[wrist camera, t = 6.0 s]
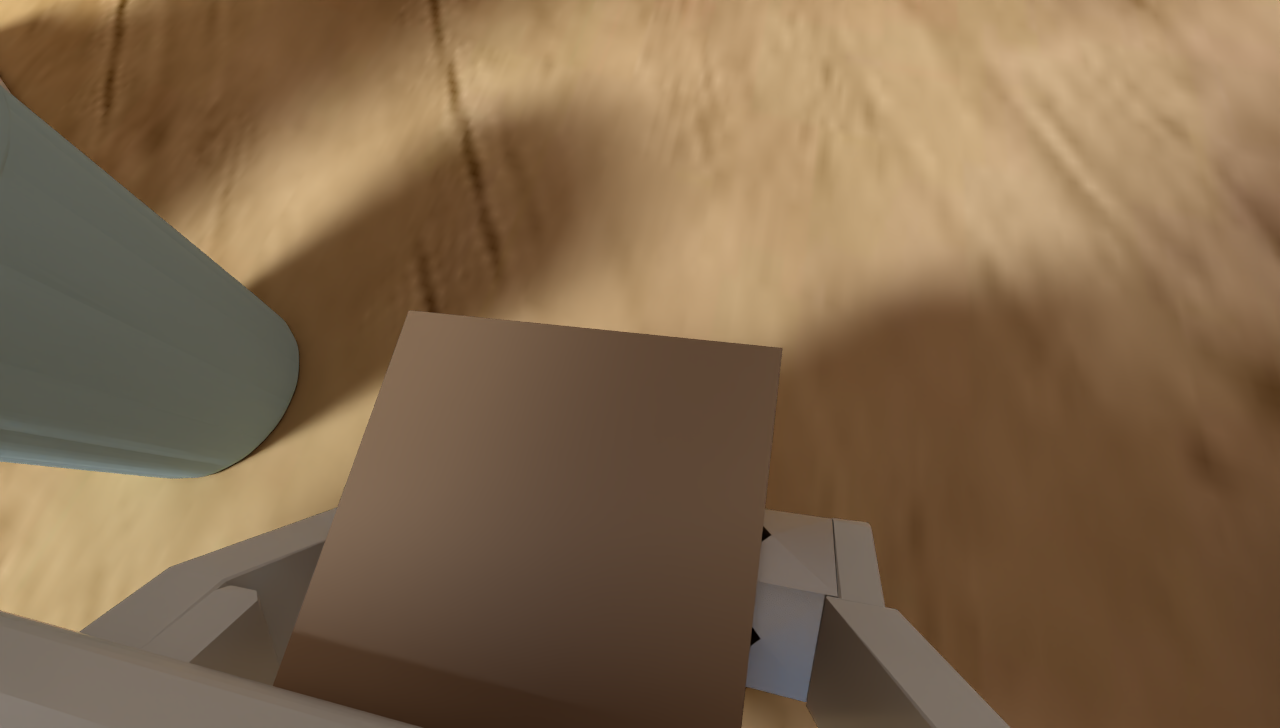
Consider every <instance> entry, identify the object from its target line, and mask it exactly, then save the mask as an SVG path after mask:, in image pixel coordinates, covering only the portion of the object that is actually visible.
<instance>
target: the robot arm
mask: <svg viewBox="0 0 1280 728" xmlns="http://www.w3.org/2000/svg"><path fill="white" fill-rule="evenodd" d="M0 85H1V86H2V87H3V88H4V89H6V90H7V91H8V92H9V93H10V91H9V90H8V88H7V87H6V85H5V84H4V82H3V81H2V80H1V78H0ZM336 510H337V508H334V509H331V510H329V511H326V512H323V513H320V514H317V515H315V516H312V517H309V518H306V519H303V520H301V521H298V522H295V523H292V524H289V525H287V526H284V527H281V528H278V529H275V530H273V531H270V532H267V533H264V534H261V535H259V536H256V537H253V538H250V539H247V540H245V541H242V542H239V543H236V544H233V545H231V546H228V547H225V548H222V549H219V550H217V551H214V552H211V553H208V554H205V555H203V556H200V557H197V558H194V559H191V560H188V561H186V562H183V563H180V564H177V565H174V566H172V567H169V568H168V569H166V570H165V571H163V572H162V573H161V574H159V575H158V576H157V577H155V578H154V579H152V580H151V581H150V582H148V583H147V584H145V585H144V586H143V587H141V588H140V589H138V590H137V591H136V592H134V593H133V594H131V595H130V596H129V597H127V598H126V599H124V600H123V601H122V602H120V603H119V604H117V605H116V606H115V607H113V608H112V609H110V610H109V611H108V612H106V613H105V614H104V615H102V616H101V617H99V618H98V619H97V620H95V621H94V622H92V623H91V624H90V625H88V626H87V627H85V628H84V629H83V630H81V631H80V632H76V631H73V630H69V629H66V628H62V627H58V626H55V625H51V624H48V623H44V622H40V621H37V620H33V619H30V618H26V617H22V616H19V615H15V614H12V613H8V612H4V611H1V610H0V728H422V727H418V726H415V725H411V724H408V723H404V722H401V721H397V720H393V719H390V718H386V717H383V716H379V715H375V714H372V713H368V712H365V711H361V710H357V709H354V708H350V707H347V706H343V705H339V704H336V703H332V702H329V701H325V700H321V699H318V698H314V697H311V696H307V695H303V694H300V693H296V692H293V691H289V690H285V689H282V688H278V687H275V686H273V684H274V681H275V678H276V675H277V673H278V670H279V667H280V664H281V661H282V659H283V656H284V653H285V650H286V648H287V645H288V642H289V639H290V637H291V634H292V631H293V628H294V626H295V623H296V620H297V617H298V615H299V612H300V609H301V606H302V604H303V601H304V598H305V595H306V593H307V590H308V587H309V584H310V582H311V579H312V576H313V573H314V571H315V568H316V565H317V562H318V560H319V557H320V554H321V551H322V548H323V546H324V543H325V540H326V537H327V535H328V532H329V529H330V526H331V524H332V521H333V518H334V515H335V513H336ZM746 687H749V688H753V689H757V690H761V691H765V692H768V693H772V694H776V695H780V696H784V697H788V698H792V699H796V700H799V701H803V702H807V704H806V706H807V708H808V710H809V712H810V714H811V715H812V717H813V719H814V721H815V723H816V725H817V727H818V728H1010V726H1009V725H1008V724H1007V723H1006V722H1005V721H1004V720H1003V719H1002V718H1001V717H1000V716H999V715H998V714H997V713H996V712H995V711H994V710H993V709H992V708H991V707H990V706H989V705H988V704H987V703H986V701H985V700H984V699H983V698H982V697H981V696H980V695H979V694H978V693H977V692H976V691H975V690H974V689H973V688H972V687H971V686H970V685H969V684H968V683H967V682H966V681H965V680H964V679H963V678H962V677H961V675H960V674H959V673H958V672H957V671H956V670H955V669H954V668H953V667H952V666H951V665H950V664H949V663H948V662H947V661H946V660H945V659H944V658H943V657H942V656H941V655H940V654H939V653H938V652H937V650H936V649H935V648H934V647H933V646H932V645H931V644H930V643H929V642H928V641H927V640H926V639H925V638H924V637H923V636H922V635H921V634H920V633H919V632H918V631H917V630H916V629H915V628H914V627H913V626H912V624H911V623H910V622H909V621H908V620H907V619H906V618H905V617H904V616H903V615H902V614H901V613H900V612H899V611H898V610H897V609H892V608H887V607H885V603H884V597H883V591H882V585H881V580H880V574H879V568H878V562H877V556H876V551H875V545H874V539H873V533H872V528H871V526H870V525H869V523H868V522H862V521H854V520H846V519H839V518H824V517H818V516H811V515H805V514H798V513H792V512H785V511H778V510H772V509H765V513H764V522H763V532H762V541H761V550H760V559H759V568H758V578H757V587H756V596H755V605H754V614H753V623H752V633H751V642H750V651H749V660H748V669H747V679H746Z"/></svg>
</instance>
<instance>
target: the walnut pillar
mask: <svg viewBox="0 0 1280 728" xmlns="http://www.w3.org/2000/svg"><path fill="white" fill-rule="evenodd" d="M781 357H782V348H776V347H766V346H757V345H747V344H737V343H727V342H717V341H707V340H697V339H688V338H678V337H668V336H658V335H648V334H638V333H628V332H619V331H609V330H599V329H589V328H579V327H569V326H559V325H549V324H540V323H530V322H520V321H510V320H500V319H490V318H480V317H471V316H461V315H451V314H441V313H431V312H421V311H411V310H409V311H408V314H407V317H406V320H405V322H404V325H403V328H402V331H401V334H400V336H399V339H398V342H397V345H396V347H395V350H394V353H393V356H392V358H391V361H390V364H389V367H388V369H387V372H386V375H385V378H384V380H383V383H382V386H381V389H380V391H379V394H378V397H377V400H376V402H375V405H374V408H373V411H372V413H371V416H370V419H369V422H368V424H367V427H366V430H365V433H364V435H363V438H362V441H361V444H360V447H359V449H358V452H357V455H356V458H355V460H354V463H353V466H352V469H351V471H350V474H349V477H348V480H347V482H346V485H345V488H344V491H343V493H342V496H341V499H340V502H339V504H338V507H337V510H336V513H335V515H334V518H333V521H332V524H331V526H330V529H329V532H328V535H327V537H326V540H325V543H324V546H323V548H322V551H321V554H320V557H319V560H318V562H317V565H316V568H315V571H314V573H313V576H312V579H311V582H310V584H309V587H308V590H307V593H306V595H305V598H304V601H303V604H302V606H301V609H300V612H299V615H298V617H297V620H296V623H295V626H294V628H293V631H292V634H291V637H290V639H289V642H288V645H287V648H286V650H285V653H284V656H283V659H282V661H281V664H280V667H279V670H278V673H277V675H276V678H275V681H274V684H273V686H275V687H278V688H282V689H285V690H289V691H293V692H296V693H300V694H303V695H307V696H311V697H314V698H318V699H321V700H325V701H329V702H332V703H336V704H339V705H343V706H347V707H350V708H354V709H357V710H361V711H365V712H368V713H372V714H375V715H379V716H383V717H386V718H390V719H393V720H397V721H401V722H404V723H408V724H411V725H415V726H418V727H422V728H741V725H742V715H743V706H744V697H745V688H746V679H747V669H748V660H749V651H750V642H751V633H752V623H753V614H754V605H755V596H756V587H757V578H758V568H759V559H760V550H761V541H762V532H763V522H764V513H765V504H766V495H767V486H768V476H769V467H770V458H771V449H772V440H773V430H774V421H775V412H776V403H777V394H778V385H779V375H780V366H781Z"/></svg>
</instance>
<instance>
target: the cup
mask: <svg viewBox="0 0 1280 728" xmlns="http://www.w3.org/2000/svg"><path fill="white" fill-rule="evenodd" d="M298 372H299V350H298V345H297V342H296V340H295V338H294V336H293V334H292V332H291V330H290V329H289V327H288V325H287V324H286V322H285V321H284V320H283V319H282V318H281V317H280V316H279V315H278V314H276V313H275V312H274V311H273V310H272V309H271V308H269V307H268V306H267V305H266V304H265V303H264V302H262V301H261V300H260V299H259V298H258V297H257V296H255V295H254V294H253V293H252V292H251V291H249V290H248V289H247V288H246V287H245V286H243V285H242V284H241V283H240V282H238V281H237V280H236V279H235V278H234V277H232V276H231V275H230V274H229V273H228V272H226V271H225V270H224V269H223V268H222V267H220V266H219V265H218V264H217V263H215V262H214V261H213V260H212V259H211V258H209V257H208V256H207V255H206V254H205V253H203V252H202V251H201V250H200V249H198V248H197V247H196V246H195V245H194V244H192V243H191V242H190V241H189V240H188V239H186V238H185V237H184V236H183V235H181V234H180V233H179V232H178V231H177V230H175V229H174V228H173V227H172V226H171V225H169V224H168V223H167V222H166V221H165V220H163V219H162V218H161V217H160V216H158V215H157V214H156V213H155V212H154V211H152V210H151V209H150V208H149V207H148V206H146V205H145V204H144V203H143V202H141V201H140V200H139V199H138V198H137V197H135V196H134V195H133V194H132V193H131V192H129V191H128V190H127V189H126V188H125V187H123V186H122V185H121V184H120V183H118V182H117V181H116V180H115V179H114V178H112V177H111V176H110V175H109V174H108V173H106V172H105V171H104V170H103V169H101V168H100V167H99V166H98V165H97V164H95V163H94V162H93V161H92V160H91V159H89V158H88V157H87V156H86V155H84V154H83V153H82V152H81V151H80V150H78V149H77V148H76V147H75V146H74V145H72V144H71V143H70V142H69V141H68V140H66V139H65V138H64V137H63V136H61V135H60V134H59V133H58V132H57V131H55V130H54V129H53V128H52V127H51V126H49V125H48V124H47V123H46V122H44V121H43V120H42V119H41V118H40V117H38V116H37V115H36V114H35V113H34V112H32V111H31V110H30V109H29V108H28V107H26V106H25V105H24V104H23V103H21V102H20V101H19V100H18V99H17V98H15V97H14V96H13V95H12V94H11V93H9V92H8V91H7V90H6V89H4V88H3V87H2V86H1V85H0V461H1V462H11V463H21V464H30V465H40V466H50V467H60V468H70V469H79V470H89V471H99V472H109V473H119V474H129V475H139V476H148V477H160V478H197V477H203V476H207V475H211V474H214V473H216V472H219V471H221V470H223V469H225V468H227V467H229V466H231V465H233V464H234V463H236V462H238V461H240V460H241V459H243V458H244V457H246V456H247V455H248V454H250V453H251V452H252V451H253V450H254V449H255V448H257V447H258V446H259V445H260V444H261V443H262V442H263V441H264V440H265V439H266V437H267V436H268V435H269V434H270V433H271V432H272V431H273V429H274V428H275V427H276V425H277V424H278V423H279V421H280V420H281V418H282V416H283V415H284V413H285V411H286V409H287V407H288V405H289V403H290V401H291V398H292V396H293V393H294V391H295V388H296V384H297V380H298Z"/></svg>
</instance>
